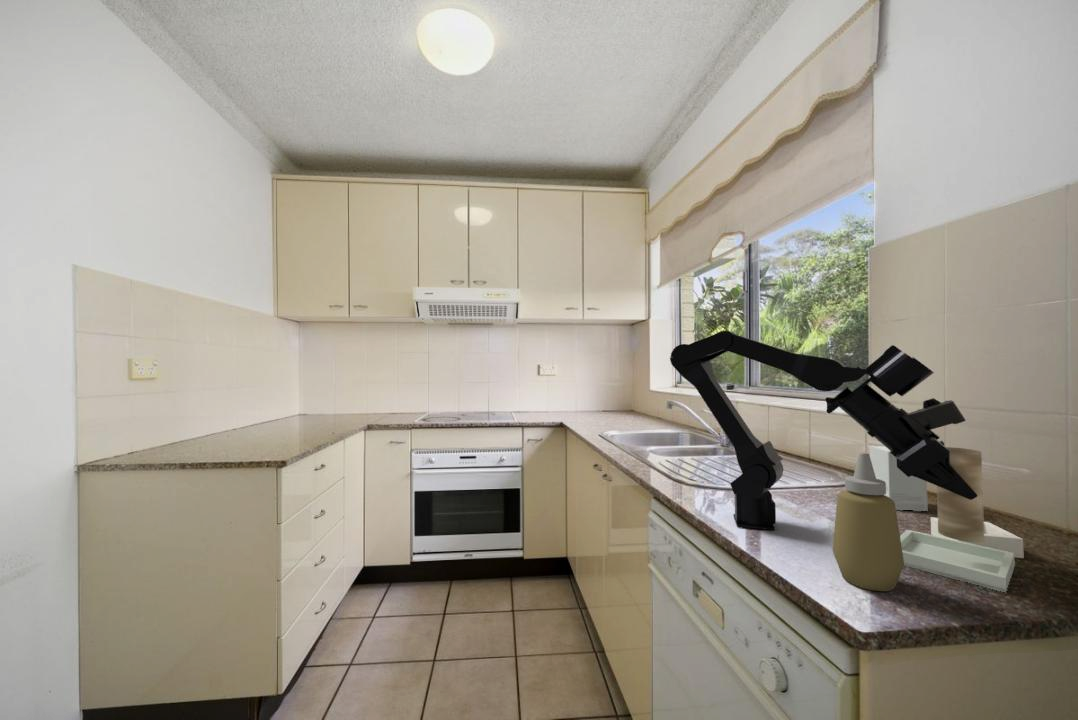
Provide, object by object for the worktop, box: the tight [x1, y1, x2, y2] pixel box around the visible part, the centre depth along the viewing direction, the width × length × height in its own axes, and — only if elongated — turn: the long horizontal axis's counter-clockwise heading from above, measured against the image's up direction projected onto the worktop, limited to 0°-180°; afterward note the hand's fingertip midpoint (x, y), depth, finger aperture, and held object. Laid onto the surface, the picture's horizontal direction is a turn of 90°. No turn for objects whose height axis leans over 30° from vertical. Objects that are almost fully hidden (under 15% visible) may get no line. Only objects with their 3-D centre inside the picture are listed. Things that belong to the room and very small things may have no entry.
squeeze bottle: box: [832, 452, 905, 592], centre depth 61 cm, size 8×8×18 cm
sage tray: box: [900, 529, 1016, 594], centre depth 66 cm, size 13×13×2 cm
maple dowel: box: [936, 446, 985, 542], centre depth 65 cm, size 5×5×13 cm
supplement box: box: [869, 445, 929, 512], centre depth 95 cm, size 7×7×13 cm
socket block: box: [930, 516, 1025, 559], centre depth 73 cm, size 8×8×3 cm
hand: (971, 493), depth 65 cm, fingers closed on maple dowel, 5 cm apart
